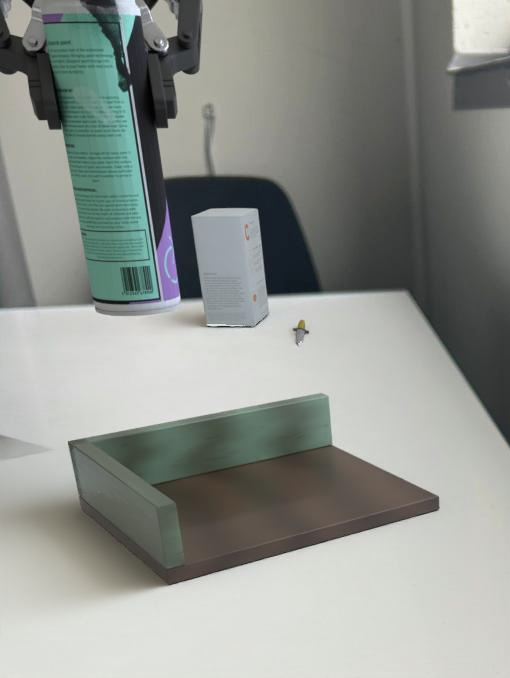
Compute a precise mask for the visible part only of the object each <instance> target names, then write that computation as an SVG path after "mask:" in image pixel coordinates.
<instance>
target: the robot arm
mask: <svg viewBox="0 0 510 678" xmlns="http://www.w3.org/2000/svg"><path fill="white" fill-rule="evenodd" d="M21 2H23V3H24V4H26V6H28V7H29V8H30V10H31V18H30V20H29V23H28V26H27V27H26V30H25V32H24V34H23V36H19V35H15V34H11V32H10V29H9V26H8V24H7V20H6V19H7V18H8V16H9V15H8V13H9V12H10V11H11V10H12V0H0V73H2V74H3V75H7V76H12V75H14V74H16V73H17V72H20V73H22V74H24V75H25V76H26V78H27V85H28V94H29V98H30V102H31V106H32V109H33V113H34V116H35V117H36V118H37V120H38V121H47V124H48V125H47V126H48V129H49V131H60V130H61V131H63V130H62V125H61V119H60V114H59V108H58V102H57V97H56V91H55V86H54V80H53V75H52V69H51V63H50V58H49V53H48V47H47V42H46V36H45V31H44V25H43V19H42V14H41V6H42V4H43V0H21ZM158 2H159V0H135V3H136V5H137V6H138V7H139V9H140V14H141V21H142V28H143V35H144V42H145V49H146V56H147V65H148V72H149V79H150V87H151V94H152V101H153V108H154V115H155V122H156V128H157V129H169V120H176V119H177V115H178V112H179V111H178V100H177V98H178V97H177V90H176V86H175V78H174V76H175V75H176V74H178V73H181V72H182V73H184V74H186V75H190V76H193V75H196V74H198V73H199V71H200V67H201V66H200V65H201V51H202V50H201V48H202V33H203V32H202V31H203V30H202V28H203V12H204V9H203V8H204V7H203V0H164V2H165V3H167V5H168V10H169V12H170V13H172V14H173V15H174V17H175V20H176V21H177V28H176V29H177V31H176V35H174V36H171V37H166V36H165V33H163V31H162V30H161V28H160V26H158V24H157V23H156V22H155V20H154V18H153V16H152V13H151V11H152V10H153V9H154V7H155V6H156V5H157V3H158Z"/></svg>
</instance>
